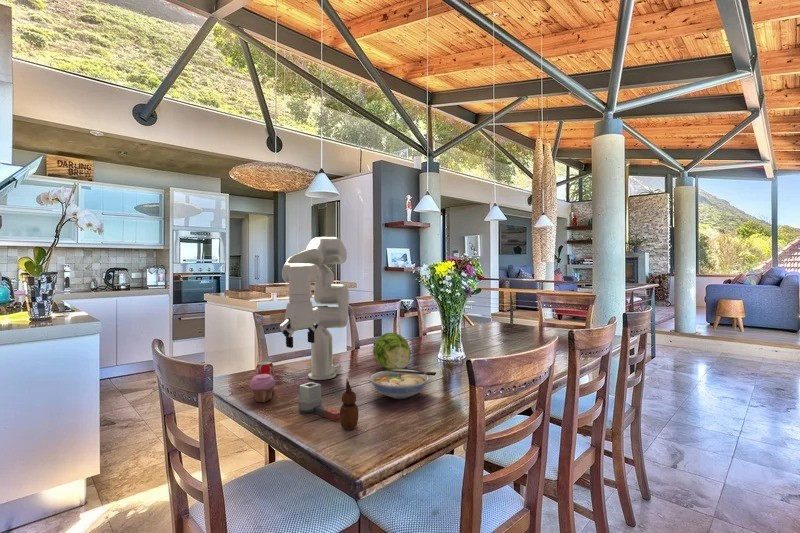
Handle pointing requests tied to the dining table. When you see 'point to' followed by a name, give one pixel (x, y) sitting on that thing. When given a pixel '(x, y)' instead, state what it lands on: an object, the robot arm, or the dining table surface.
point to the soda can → (265, 368)
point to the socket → (310, 393)
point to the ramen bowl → (400, 382)
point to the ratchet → (320, 411)
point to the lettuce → (392, 351)
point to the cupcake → (262, 387)
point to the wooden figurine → (348, 409)
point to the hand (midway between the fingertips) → (300, 344)
